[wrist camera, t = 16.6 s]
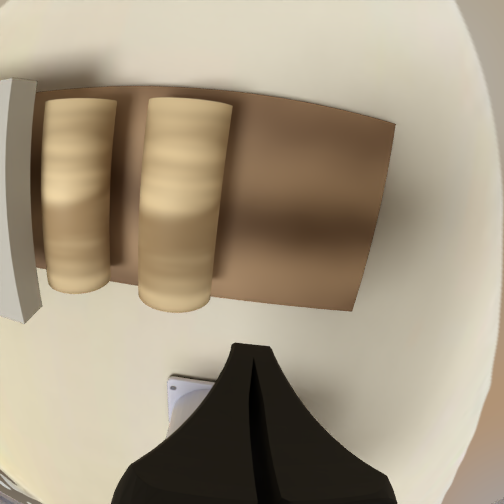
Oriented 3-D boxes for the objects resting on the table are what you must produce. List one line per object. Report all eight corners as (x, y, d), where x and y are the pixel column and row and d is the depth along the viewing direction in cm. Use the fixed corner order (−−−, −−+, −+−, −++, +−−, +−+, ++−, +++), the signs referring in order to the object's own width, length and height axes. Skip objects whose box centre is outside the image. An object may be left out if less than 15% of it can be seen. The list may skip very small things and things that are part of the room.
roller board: (348, 304, 21) (387, 383, 13) (-43, 243, 19) (-101, 279, 12) (388, 124, 17) (468, 125, 9) (-48, 110, 15) (-116, 119, 8)
